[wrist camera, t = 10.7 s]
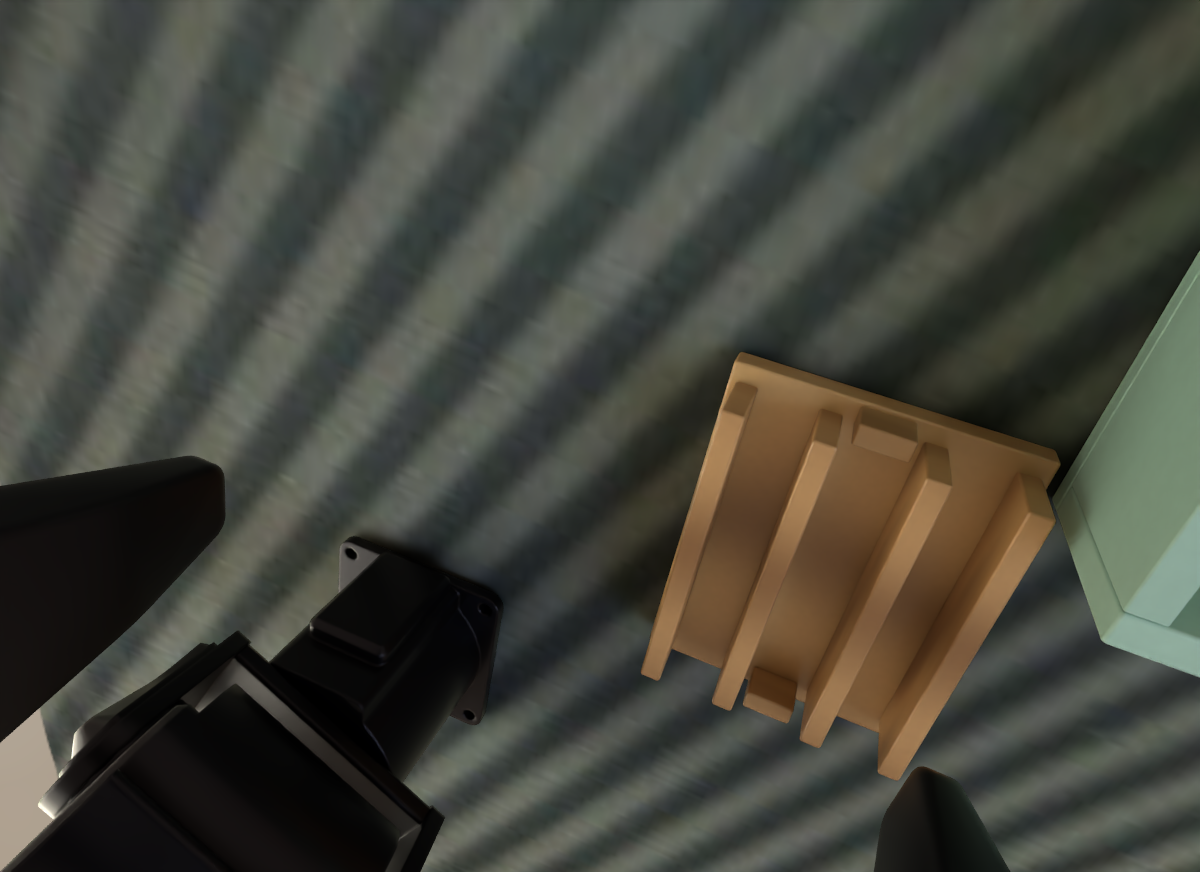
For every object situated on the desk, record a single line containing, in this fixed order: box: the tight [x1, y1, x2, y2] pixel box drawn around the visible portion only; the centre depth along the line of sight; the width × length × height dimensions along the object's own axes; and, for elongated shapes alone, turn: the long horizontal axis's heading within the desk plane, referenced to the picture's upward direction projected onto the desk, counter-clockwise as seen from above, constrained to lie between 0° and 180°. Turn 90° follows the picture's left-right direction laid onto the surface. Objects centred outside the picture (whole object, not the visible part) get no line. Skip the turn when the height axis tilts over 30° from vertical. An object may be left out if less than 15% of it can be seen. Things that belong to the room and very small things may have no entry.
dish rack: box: [641, 352, 1060, 781], centre depth 21 cm, size 10×8×3 cm
